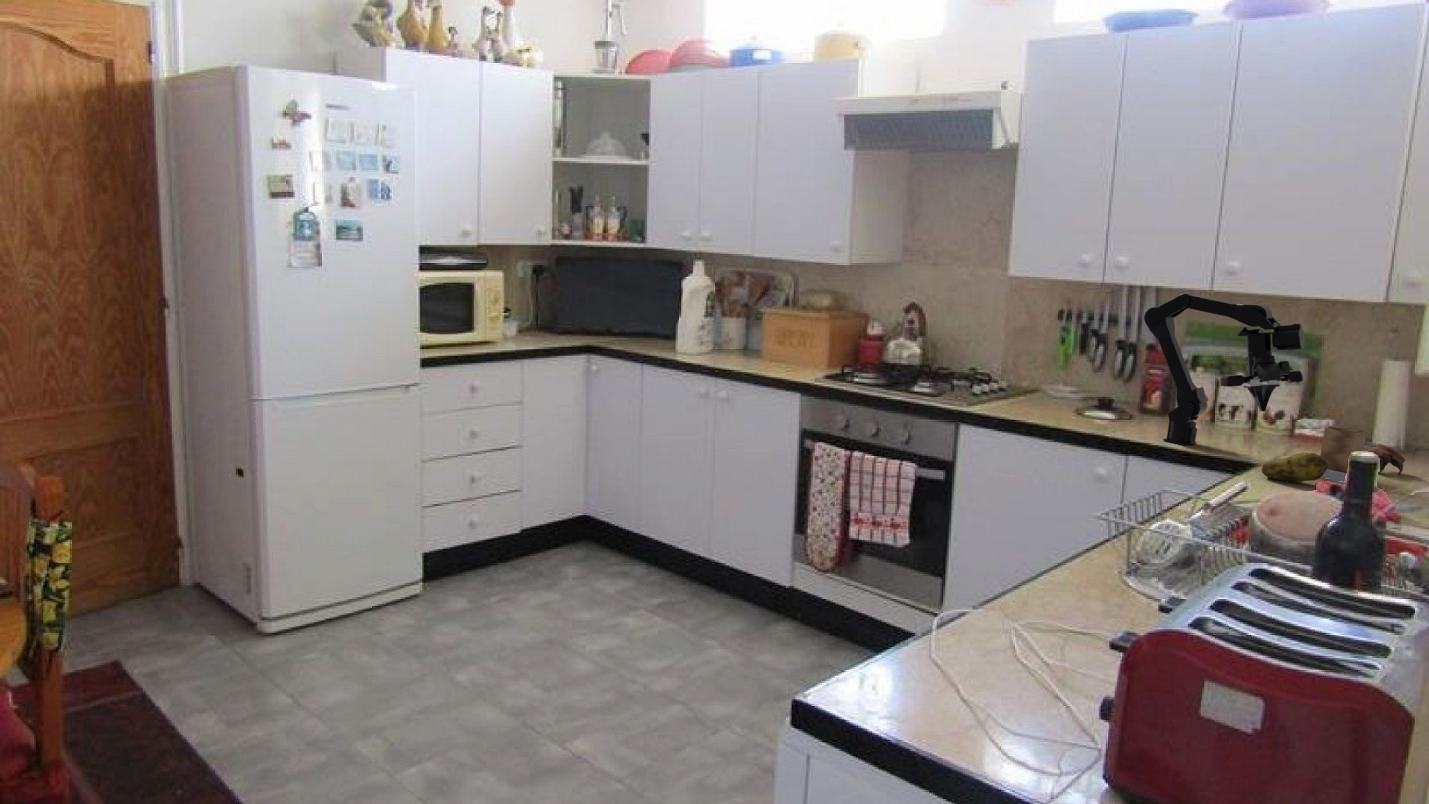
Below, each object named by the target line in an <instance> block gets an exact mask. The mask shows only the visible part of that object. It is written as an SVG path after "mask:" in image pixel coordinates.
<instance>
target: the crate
mask: <svg viewBox="0 0 1429 804" xmlns="http://www.w3.org/2000/svg"><path fill="white" fill-rule="evenodd" d="M1323 432H1324V433H1323V437H1322V443H1321V448H1320V454H1319V456H1321V457H1322V458H1323V459H1325V460H1326V462H1327V464H1328V468H1327V469H1329V470H1334V471H1338V472H1343V473H1347V469H1348V458H1349V456H1350V454H1351V452H1354V451H1363V452H1364V448H1365V445H1366V437H1367V431H1365V430H1364V429H1359V428H1353V427H1350V426H1349V427H1348V426H1343V425H1338V424H1337V425H1331V426H1328V427H1325V428H1324V431H1323Z"/></svg>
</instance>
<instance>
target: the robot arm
mask: <svg viewBox="0 0 1429 804" xmlns="http://www.w3.org/2000/svg"><path fill="white" fill-rule="evenodd" d="M1188 309H1189V310H1193V311H1199V312H1204V313H1209V314H1214V315H1218V316H1223V317H1227V318H1230V319H1233V320H1235V321H1236V322H1239V323H1242V324H1244V325H1246V326H1244V327H1243V328H1242V330H1241V331H1239V332H1238V333H1237V336H1238V337H1246V348H1247V349H1246V350H1247V351H1246V352H1247V356H1246V357H1245V361H1247V369H1248V371H1246V375H1245V376H1243V374H1227V375H1225V374H1224V375H1222V376H1221V377H1220V382H1219V383H1220V387H1227V388H1228V387H1231V388H1232V387H1241V386H1242V385H1243V384H1244V385H1243V389H1245V388H1246V389H1247V390H1248V391H1249V393H1250V395H1251V396H1252V397H1253V400H1254V401H1255V403H1256V405H1257V407H1258V409H1259V411H1260V412H1266V410H1267V407H1268V404H1269V401H1270V398H1271V396H1272V393H1273V391H1274V390H1275V389H1276V388H1277V387H1280V385H1281V384H1278V382H1290V383H1298V382H1299V383H1300V382H1301V383H1302V382H1304V375H1303V372H1302V371H1300V370H1293V369H1292V370H1291V368H1290V367H1291V366H1290V362H1289V361H1288V360H1282V361H1279V362H1276V361H1275V360H1276V359H1275V355H1273V348H1275V349H1276V350H1277V351H1278V352H1285V351H1286V352H1287V351H1303V350H1305V346H1306V336H1305V333H1304V329H1303V326H1302V324H1303V323H1295V324H1294V323H1293V324H1287V325H1281V324H1280V322H1278V321H1277V320H1276V318H1274V317H1273V312H1272V310H1271V308H1270V306H1268V305H1265V304H1257V303H1233V302H1229V301H1224V300H1220V299H1214V298H1209V297H1203V296H1200V295H1194V294H1193V293H1188V292H1187V293H1181V294H1179V295H1178V296H1176V297H1174V298H1173V299H1171V300H1168V301H1167V302H1165V303H1163V304H1162V305H1160V306H1155V307H1150V308H1148V309H1147V310H1146V312H1145V314H1144V316H1143V320H1144V323H1145V325H1146V327H1147V328H1148V330H1149V331H1150V333H1151V334H1152V335H1153V336H1154V337H1155V339H1156V340H1157V341H1158V343H1159V346H1160V349H1161V352H1162V354H1163V357H1164V359H1165V363H1166V364H1167V365H1166V366H1167V367H1168V369H1169V373H1170V375H1171V377H1172V381H1173V383H1174V385H1175V391H1176V393H1175V394H1176V395H1175V400H1176V405H1177V406H1176V408H1173V409H1172V410H1171V411H1169V412H1168V413H1167V415H1168V427H1167V434H1166V437H1165V438H1163V439H1162V440H1163V441H1164V442H1168V443H1173V444H1178V445H1181V446H1188V445H1196V444H1197V441H1196V440H1197V432H1198V428H1197V422H1196V421H1197V420H1198V418H1199V417H1200V416H1201V415H1203V414H1204V413H1205V412H1206V411H1207V409H1208V402H1209V401H1210V400H1209V398H1208V397H1207V396H1206V393H1205V388H1204V387H1203V386H1200V387H1197V386H1196V384H1195V383H1194V382H1193V380H1192V377H1191V374H1190V372H1189V369H1188V366H1187V364H1186V362H1185V361H1186V360H1185V358H1184V356H1183V354H1182V351H1181V349H1180V346H1179V343H1178V341H1177V337H1176V333H1175V331H1176V330H1175V329H1176V326H1175V325H1176V324H1175V319H1174V318H1177V317H1178V316H1179V315H1181V314H1182V313H1184V312H1185V311H1186V310H1188ZM1248 326H1249V327H1252V329H1250V328H1249V327H1248ZM1257 327H1259V328H1257ZM1263 330H1265V331H1266V332H1264V331H1263ZM1269 330H1273V331H1269ZM1261 383H1262V384H1261Z"/></svg>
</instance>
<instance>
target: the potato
mask: <svg viewBox="0 0 1429 804" xmlns="http://www.w3.org/2000/svg"><path fill="white" fill-rule="evenodd" d="M1292 455H1293V456H1292ZM1292 455H1291V456H1288V457H1285V458H1280V459H1275V460H1274V459H1271V460H1268V461H1266V462H1264V463H1263V465H1262V467H1261V473H1262V475H1264V476H1265V477H1267V478H1268V479H1271V480H1277V481H1280V480H1281V482H1286V481H1288V482H1287V483H1302V482H1308V481H1316V480H1320V479H1321V478H1320V477H1322V475H1323V474H1324V473H1325V471H1326V470H1327V468H1328V464H1327V462H1326V460H1325V459H1323V458H1322V457H1321V456H1320V454H1316V453H1315V452H1311V453H1309V452H1301V453H1296V454H1292Z"/></svg>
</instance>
